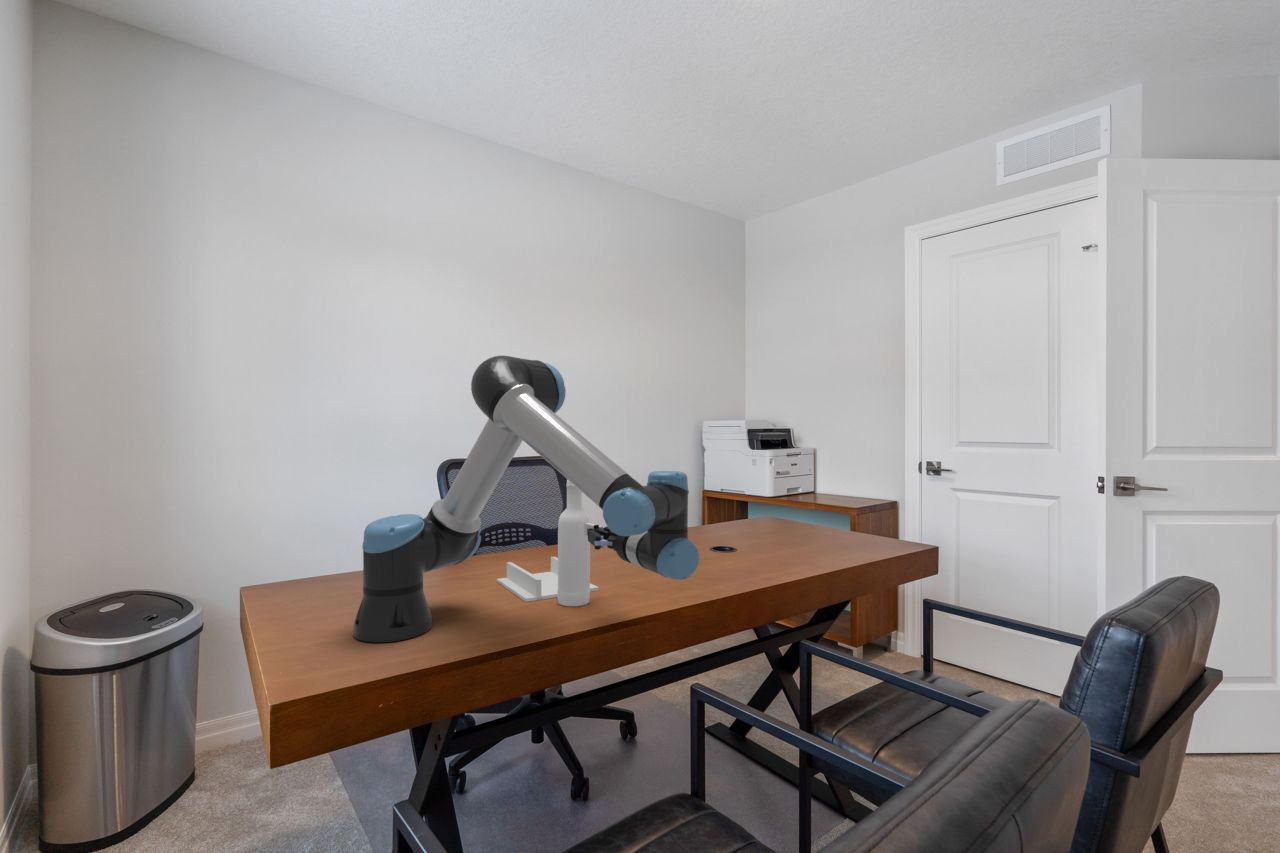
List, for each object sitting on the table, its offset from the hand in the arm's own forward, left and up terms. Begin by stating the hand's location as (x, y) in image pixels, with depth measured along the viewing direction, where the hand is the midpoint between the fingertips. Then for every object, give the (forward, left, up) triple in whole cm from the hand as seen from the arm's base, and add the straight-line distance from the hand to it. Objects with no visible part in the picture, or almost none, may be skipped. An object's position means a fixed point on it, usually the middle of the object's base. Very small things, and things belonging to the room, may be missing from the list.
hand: (587, 528), depth 139 cm
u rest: (-17, +17, -19) cm, 30 cm away
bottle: (-5, +5, -19) cm, 20 cm away
